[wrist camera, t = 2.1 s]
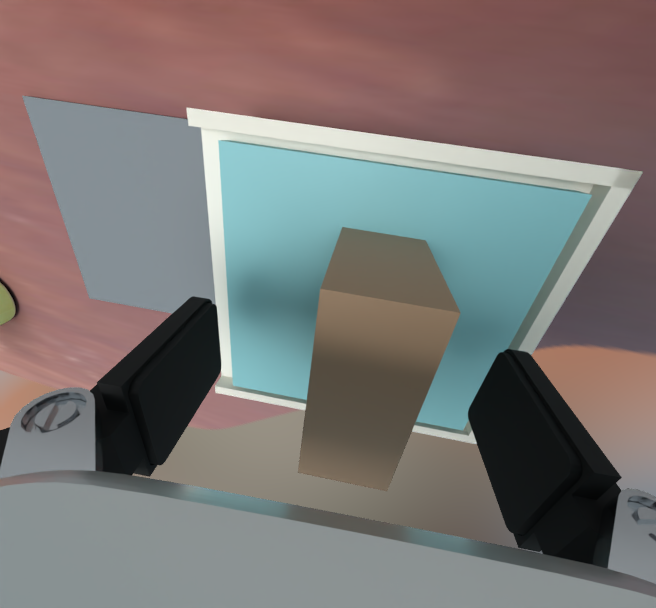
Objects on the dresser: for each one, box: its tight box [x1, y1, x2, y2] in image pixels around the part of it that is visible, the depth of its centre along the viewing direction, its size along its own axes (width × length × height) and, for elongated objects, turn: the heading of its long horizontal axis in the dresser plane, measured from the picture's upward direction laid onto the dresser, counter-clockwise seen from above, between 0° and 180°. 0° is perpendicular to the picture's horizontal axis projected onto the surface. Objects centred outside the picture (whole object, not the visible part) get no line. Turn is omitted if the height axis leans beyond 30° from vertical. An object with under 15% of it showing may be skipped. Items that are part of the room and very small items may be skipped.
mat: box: [22, 96, 216, 313], centre depth 18 cm, size 11×12×1 cm
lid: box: [218, 140, 592, 491], centre depth 11 cm, size 12×11×6 cm
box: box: [187, 108, 643, 444], centre depth 15 cm, size 14×13×6 cm
